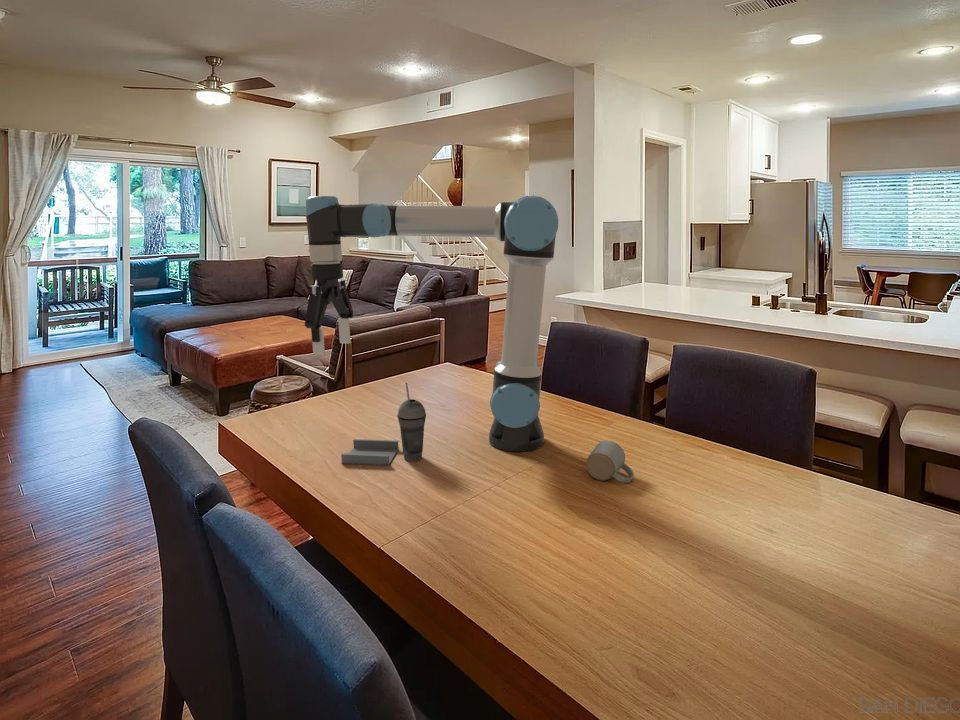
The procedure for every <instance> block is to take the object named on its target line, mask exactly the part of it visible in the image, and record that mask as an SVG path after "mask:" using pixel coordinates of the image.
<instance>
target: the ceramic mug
mask: <svg viewBox="0 0 960 720" xmlns="http://www.w3.org/2000/svg"><path fill="white" fill-rule="evenodd" d="M625 462H626V454H625V452H624V449H623V448H622V447H621V445H619V443H617V442H615V441H613V440H602V441H600V442H599V443H597V445H596V446H595V447H594V448H593V450H592V451H591V452H590V454H589V455H588V457H587V459H586V464H585V465H586V466H585V467H586V470H587V471H588V472H587V473H588V474H589V476H591V477H592V478H594V479H595V480H598V481H604V482H605V481H608V480H610V479H612V478H614V479H615V480H616V481H618V482H621V483H624V484H625V483H626V484H628V483H630V482H632V480H633V479H634V476H635V475H634V474H635V473H634V471H633V470H632V468H631V467H630V466H629V465H627V464H626V463H625ZM621 469H622V470H623V471H624V472H625V473H626V474H627V475H628V477H626V476H623V475H621V474H620V473H618V472H619V471H620V470H621ZM627 482H628V483H627Z"/></svg>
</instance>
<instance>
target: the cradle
mask: <svg viewBox="0 0 960 720" xmlns="http://www.w3.org/2000/svg"><path fill="white" fill-rule="evenodd" d="M352 441H353V443H352V444H353V448H352V449H351V450H350V451H349V453H341V454H340V457H341V458H340V459H341V464H342V465H358V466H359V465H363V466H384V467H385V466H387V467H389V466H390V465H391V464H392V463H391V462H393V460H394V458H395V457H396V454H397V452H398V451H399V446H400V445H399V440H394V439H393V440H392V439H388V440H387V439H386V440H385V439H366V438H354V439H352Z"/></svg>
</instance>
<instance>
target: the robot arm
mask: <svg viewBox="0 0 960 720" xmlns="http://www.w3.org/2000/svg"><path fill="white" fill-rule="evenodd" d="M305 219H306V229H307V239H308V248H309V249H308V252H309V261H310V262H312V263H311V264H310V277H311V279H312V280H313V281H314V280H315V281H316V285H309V286H308V292H309V296H308V301H307V308H306V314H305V319H304V320H305V321H304V326H305V327H306V329H310V332H311V341H312V343H311V345H312V354H313V356H325V355H326V350H325V349H326V348H325V346H326V345H325V337H324V335H325V334H324V328H323V327H322V324H323V320H324V318H325V317H324V316H325V314H326V310H327V307H328V305H330V303H331V304H332V305H333V307H334V308H335V310H336V312H337V314H338V316H339V318H337V322H338V336H339V337H338V338H339V343H340V344H347V345H348V344H351V341H352V340H351V329H350V328H351V327H350V319H352V318H353V317H354V310H353V306H352V303H351V300H350V297H349V293H348V290H347V286H346V280H345V279H343V277H344V270H343V269H344V267H343V264H342V263H341V262H342V261H343V254H342V252H343V251H342V239H341V238H380V237H388V236H392V237H393V236H394V237H395V236H396V237H397V236H398V237H399V236H406V237H411V236H412V237H452V238H453V237H455V238H456V237H457V238H458V237H460V238H461V237H462V238H463V237H464V238H465V237H467V238H496V239H497V240H498V241H499V242H503V243H504V245H503V256H504V257H505V259H506V260H507V261H508V263H509V264H508V275H507V276H508V277H507V287H506V297H505V298H506V299H505V300H506V301H505V311H504V322H503V323H504V325H503V334H502V335H503V336H502V349H501V359H500V360H498V361H497V362H496V363H495V365H496V366H494V370H493V380H492V381H493V383H492V392H491V393H492V394H491V396H490V398H489V407H490V409H491V413H492V415H493V417H494V418H493V421H492V423H491V427H490V429H489V433H488V442H489V444H490V446H492V447H494V448H496V449H499V450H501V451H506V452H507V451H508V452H518V453H521V452H530V451H534V450H538V449H540V448H541V447H542V446H543V445H544V444H545V432H544V430H543V427H542V426H543V425H542V424H541V419H540V417H539V412H540V407H541V403H540V397H541V388H542V387H541V385H542V377H543V371H542V370H541V369H540V364H539V362H538V354H539V353H538V352H539V343H540V333H541V332H540V331H541V324H542V323H541V322H542V312H543V310H542V309H543V303H544V291H545V280H546V271H547V265H548V264H549V263H550V262H551V261H553V260H554V256H555V247H556V246H555V245H556V238H557V232H558V230H559V216H558V212H557V211H556V208H555V207H554V205H553V204H552V203H551V202H550V201H549V200H547V199H546V198H544V197H542V196H538V195H524V196H522V197H519V198H518V199H516V200H515V201H506V202H505V201H504V202H503V201H500V202H499V203H498V204H497V205H495V206H494V205H493V206H491V205H489V206H488V205H487V206H484V205H479V206H477V205H475V206H474V205H388V204H387V205H386V204H382V203H360V204H357V203H356V204H340V203H339V198H338V197H337V196H335V195H333V196H332V195H325V196H324V195H315V196H314V195H313V196H311V195H310V196H308V197H306V200H305Z"/></svg>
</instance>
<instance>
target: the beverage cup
mask: <svg viewBox="0 0 960 720" xmlns="http://www.w3.org/2000/svg"><path fill="white" fill-rule="evenodd" d="M404 385H405V389H406V397H407V400H405V401H403V402H402V403H401V404H400V406H399V408H398V411H397V420H398V424H399V428H400V429H399V431H400V438H401V446H402V454H403V459H404V460H405V461H406V462H408V463H409V462H410V463H411V462H414V463H415V462H420V461H421V460H422V456H423V451H424V450H423V449H424V434H425V423H426V417H427V414H426V408H425V407H424V405H423V404H422V403H421V402H420V401H418V400H417V399H412V398H411V397H410V391H409V385H408V382H405V384H404Z"/></svg>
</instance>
